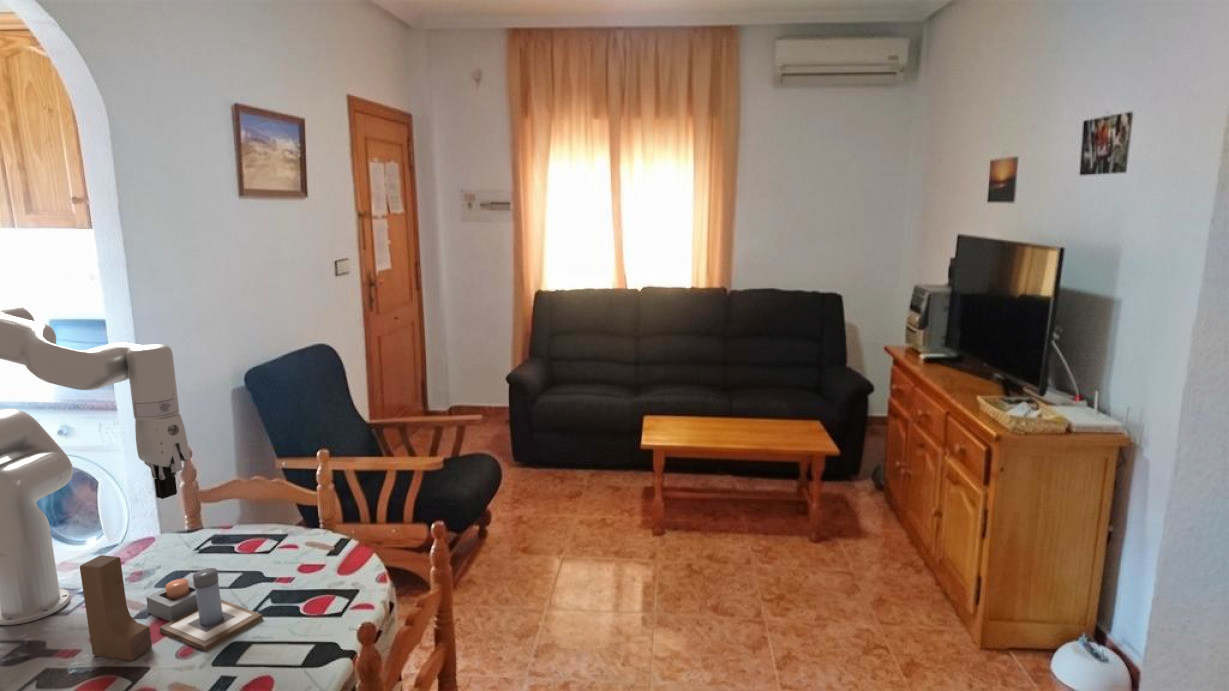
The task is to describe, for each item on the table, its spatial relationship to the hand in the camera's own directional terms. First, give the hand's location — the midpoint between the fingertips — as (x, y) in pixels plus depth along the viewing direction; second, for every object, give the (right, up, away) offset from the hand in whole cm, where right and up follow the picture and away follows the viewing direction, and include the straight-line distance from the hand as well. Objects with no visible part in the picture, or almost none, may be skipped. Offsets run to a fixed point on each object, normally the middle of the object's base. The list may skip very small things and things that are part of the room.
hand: (166, 495), depth 141 cm
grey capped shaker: (+10, -24, -2) cm, 26 cm away
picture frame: (+10, -25, -2) cm, 27 cm away
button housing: (0, -24, +4) cm, 25 cm away
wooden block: (-2, -27, -10) cm, 29 cm away
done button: (0, -21, +4) cm, 22 cm away
